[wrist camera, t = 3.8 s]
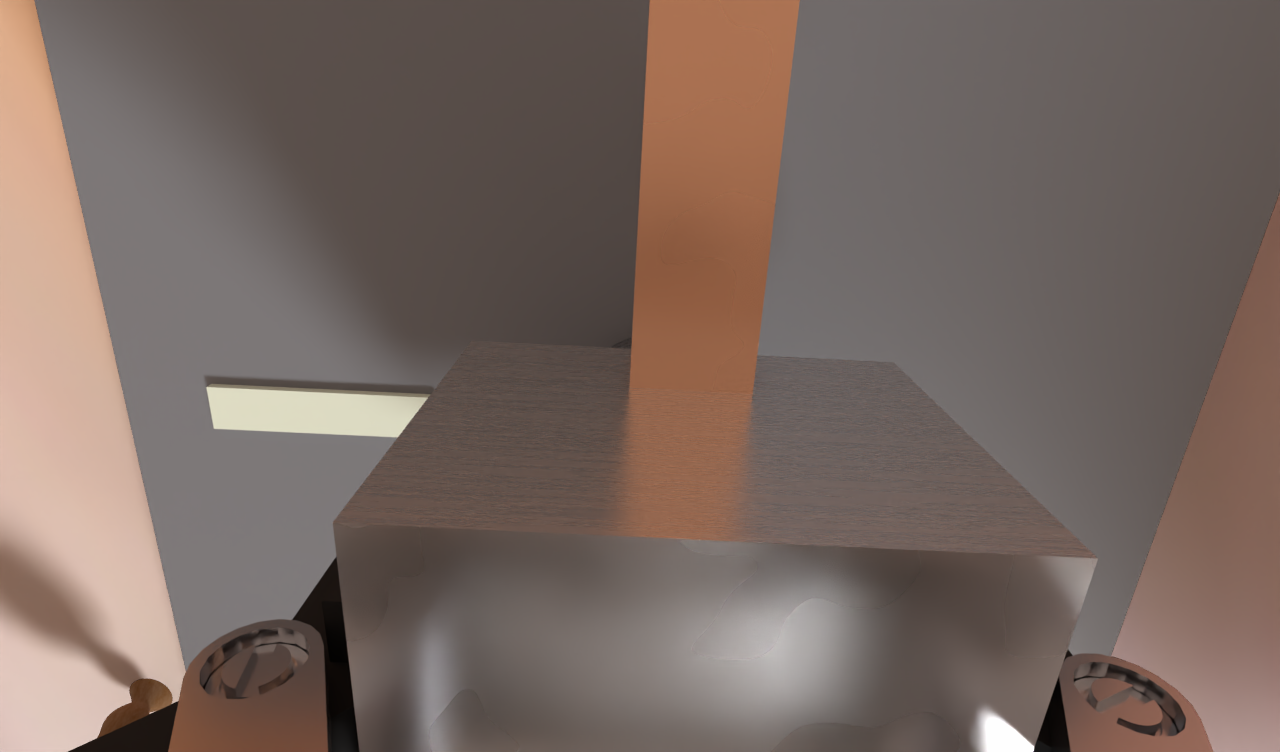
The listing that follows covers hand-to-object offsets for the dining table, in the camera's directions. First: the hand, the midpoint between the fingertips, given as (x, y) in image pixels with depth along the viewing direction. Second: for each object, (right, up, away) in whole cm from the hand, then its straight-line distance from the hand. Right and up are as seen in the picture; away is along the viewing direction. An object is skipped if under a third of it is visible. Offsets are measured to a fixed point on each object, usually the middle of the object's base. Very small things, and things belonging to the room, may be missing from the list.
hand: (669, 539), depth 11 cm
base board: (0, +2, +6) cm, 6 cm away
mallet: (0, +2, -1) cm, 3 cm away
